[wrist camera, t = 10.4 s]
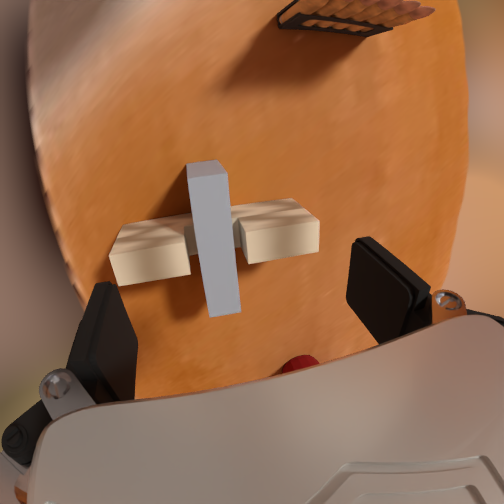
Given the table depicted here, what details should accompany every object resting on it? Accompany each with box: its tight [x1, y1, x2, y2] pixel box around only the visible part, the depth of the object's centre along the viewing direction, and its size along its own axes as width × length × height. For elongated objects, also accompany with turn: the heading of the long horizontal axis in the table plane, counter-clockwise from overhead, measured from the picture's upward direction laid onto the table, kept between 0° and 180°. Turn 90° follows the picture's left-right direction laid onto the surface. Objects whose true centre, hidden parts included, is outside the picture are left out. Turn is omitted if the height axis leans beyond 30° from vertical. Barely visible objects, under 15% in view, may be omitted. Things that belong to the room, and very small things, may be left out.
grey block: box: [186, 160, 241, 317], centre depth 27 cm, size 13×3×7 cm, turn 4°
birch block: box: [109, 198, 319, 286], centre depth 27 cm, size 18×3×7 cm, turn 94°
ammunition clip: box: [277, 0, 435, 37], centre depth 18 cm, size 11×2×12 cm, turn 96°
